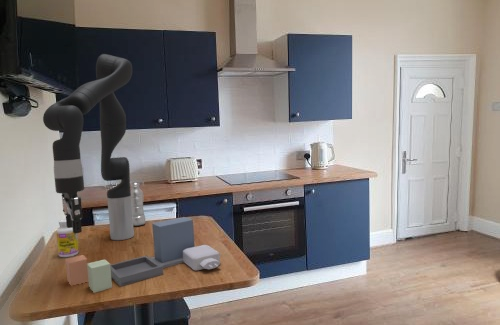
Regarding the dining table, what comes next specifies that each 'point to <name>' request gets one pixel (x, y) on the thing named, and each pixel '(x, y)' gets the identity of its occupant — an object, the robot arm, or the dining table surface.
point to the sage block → (99, 275)
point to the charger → (201, 257)
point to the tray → (135, 270)
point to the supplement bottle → (66, 240)
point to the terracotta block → (77, 270)
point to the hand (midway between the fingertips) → (74, 230)
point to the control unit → (172, 240)
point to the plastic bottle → (137, 204)
